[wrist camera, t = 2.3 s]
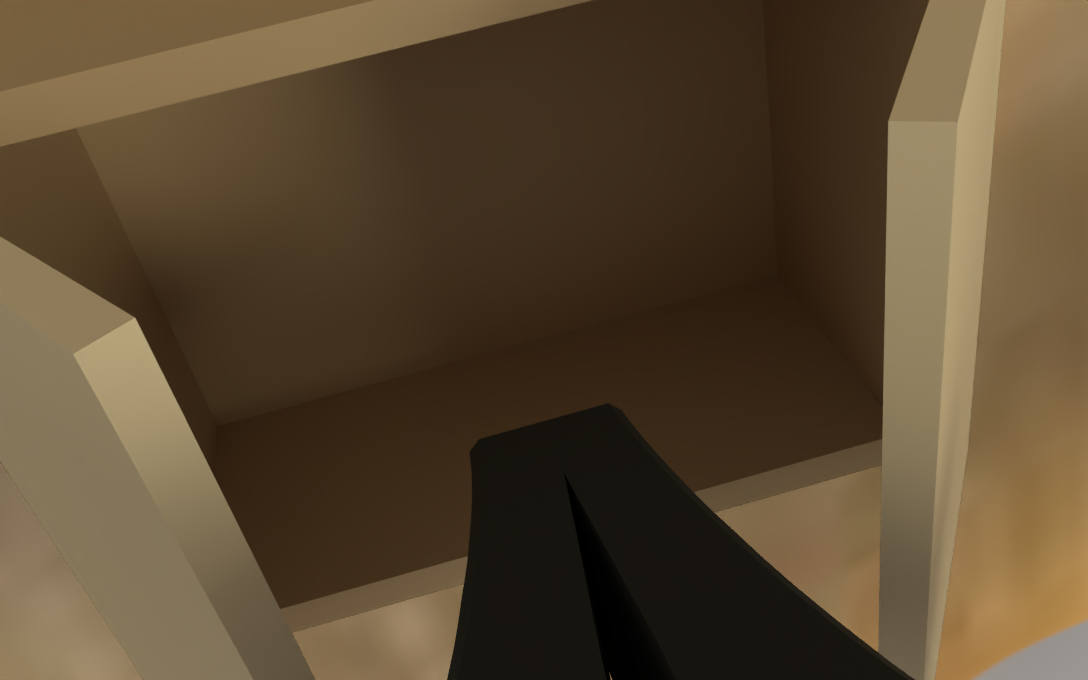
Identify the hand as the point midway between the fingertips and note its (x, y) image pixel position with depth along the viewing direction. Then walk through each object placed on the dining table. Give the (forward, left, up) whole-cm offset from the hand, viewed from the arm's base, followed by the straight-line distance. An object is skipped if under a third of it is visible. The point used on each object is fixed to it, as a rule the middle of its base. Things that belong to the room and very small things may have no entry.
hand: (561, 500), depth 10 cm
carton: (0, 0, -8) cm, 8 cm away
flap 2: (-4, 0, -1) cm, 4 cm away
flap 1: (+4, 0, -1) cm, 4 cm away
